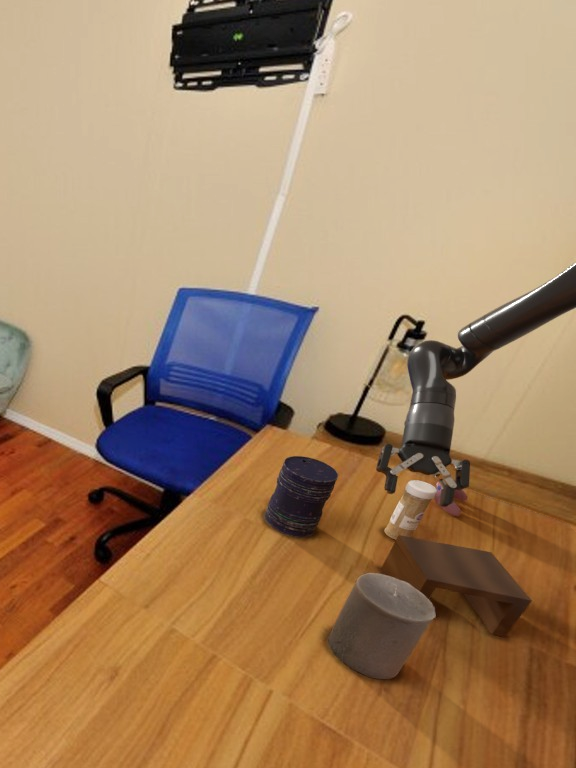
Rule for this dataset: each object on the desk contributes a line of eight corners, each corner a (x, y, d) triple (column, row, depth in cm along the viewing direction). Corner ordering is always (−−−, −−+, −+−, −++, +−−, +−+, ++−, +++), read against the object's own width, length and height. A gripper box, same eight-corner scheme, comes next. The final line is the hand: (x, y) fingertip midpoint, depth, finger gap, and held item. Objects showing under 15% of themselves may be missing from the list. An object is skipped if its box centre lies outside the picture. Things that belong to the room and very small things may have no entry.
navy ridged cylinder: (323, 539, 109) (349, 483, 102) (274, 535, 111) (296, 480, 104) (302, 510, 118) (323, 457, 111) (256, 507, 120) (275, 454, 113)
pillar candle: (319, 650, 86) (351, 587, 79) (337, 619, 91) (368, 557, 84) (391, 692, 79) (433, 626, 72) (406, 656, 84) (446, 591, 78)
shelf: (468, 587, 97) (491, 552, 93) (504, 637, 87) (532, 600, 83) (380, 569, 102) (398, 534, 98) (405, 615, 92) (426, 579, 88)
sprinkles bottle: (404, 545, 107) (432, 494, 101) (379, 533, 111) (404, 483, 105) (413, 537, 110) (441, 487, 103) (388, 525, 113) (413, 476, 107)
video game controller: (442, 499, 124) (436, 472, 123) (468, 500, 120) (463, 472, 119) (433, 516, 118) (427, 488, 117) (461, 517, 114) (455, 489, 114)
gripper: (393, 414, 109) (381, 485, 105) (483, 431, 102) (472, 507, 99) (379, 425, 115) (367, 492, 112) (463, 441, 108) (453, 513, 105)
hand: (417, 499), depth 105 cm, fingers open, 8 cm apart
